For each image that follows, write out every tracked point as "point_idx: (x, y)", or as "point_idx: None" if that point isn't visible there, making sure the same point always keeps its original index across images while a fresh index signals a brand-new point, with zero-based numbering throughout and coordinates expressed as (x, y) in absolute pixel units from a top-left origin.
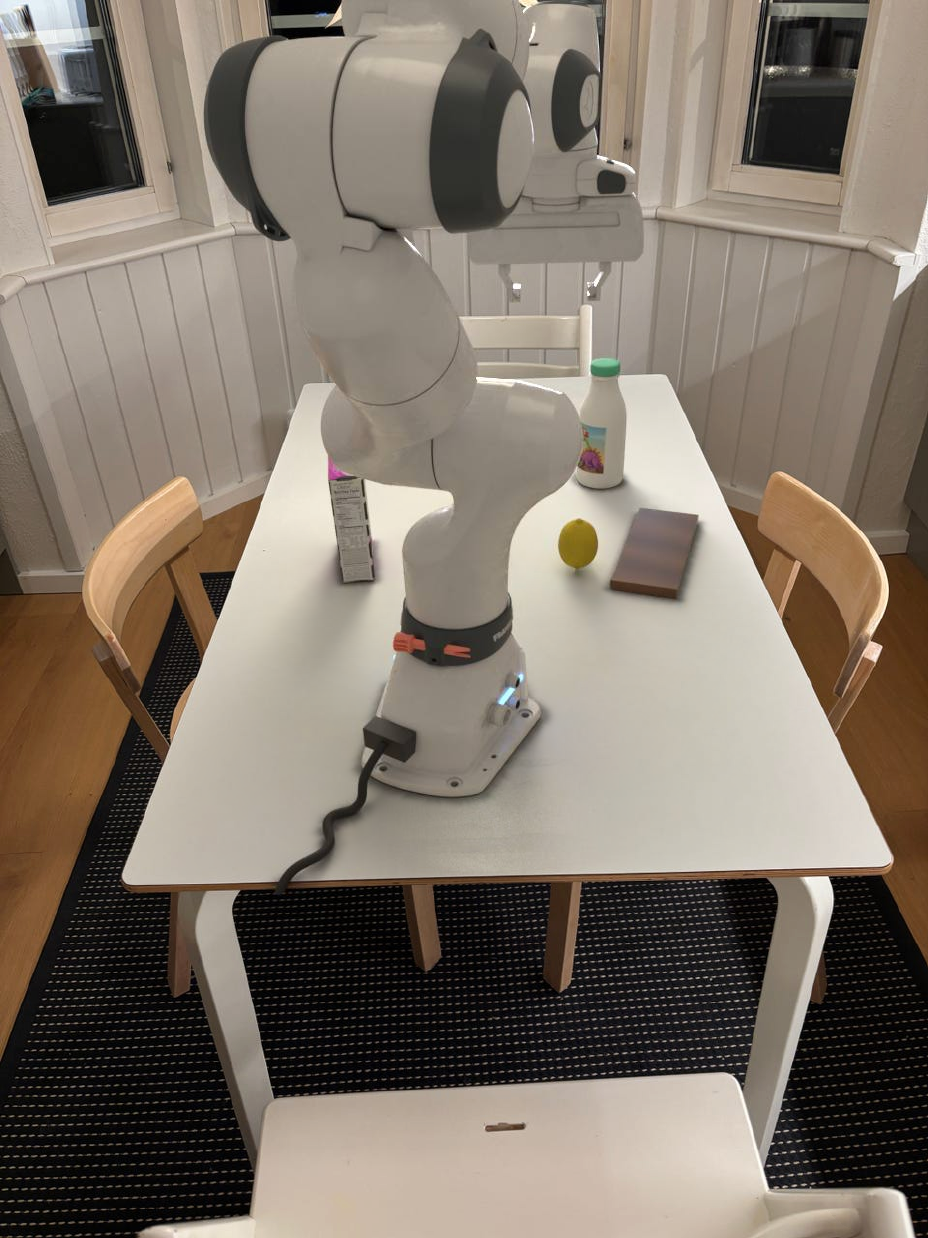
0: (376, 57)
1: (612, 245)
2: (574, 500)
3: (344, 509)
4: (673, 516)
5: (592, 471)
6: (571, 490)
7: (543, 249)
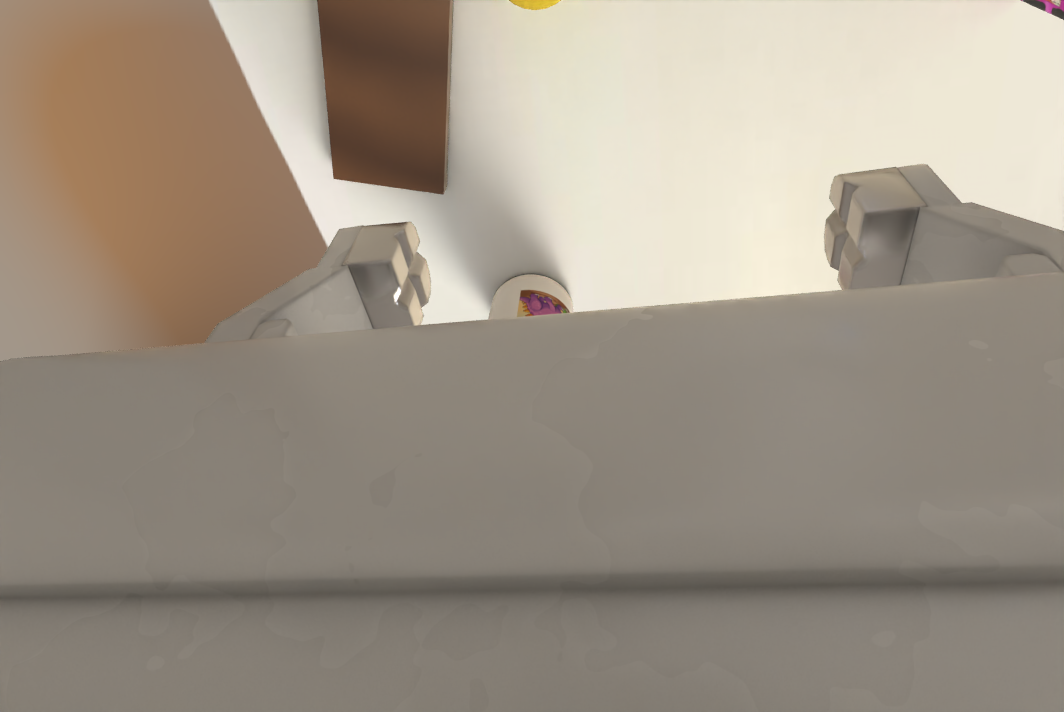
0: None
1: (81, 427)
2: (570, 231)
3: None
4: (376, 167)
5: (540, 293)
6: (578, 265)
7: (745, 367)
